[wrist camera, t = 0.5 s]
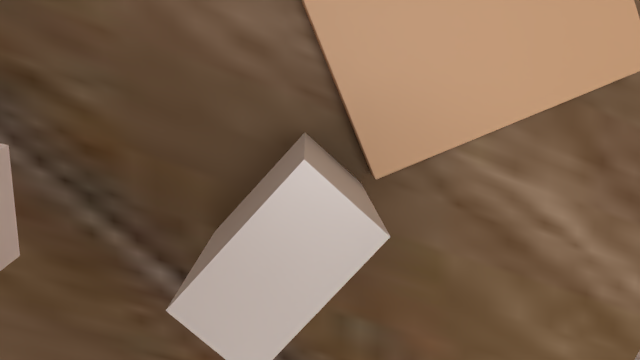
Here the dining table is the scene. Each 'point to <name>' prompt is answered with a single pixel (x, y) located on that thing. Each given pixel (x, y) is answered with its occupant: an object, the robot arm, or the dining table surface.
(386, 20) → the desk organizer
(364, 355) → the dining table surface
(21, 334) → the dining table surface
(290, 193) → the white block
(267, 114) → the dining table surface
